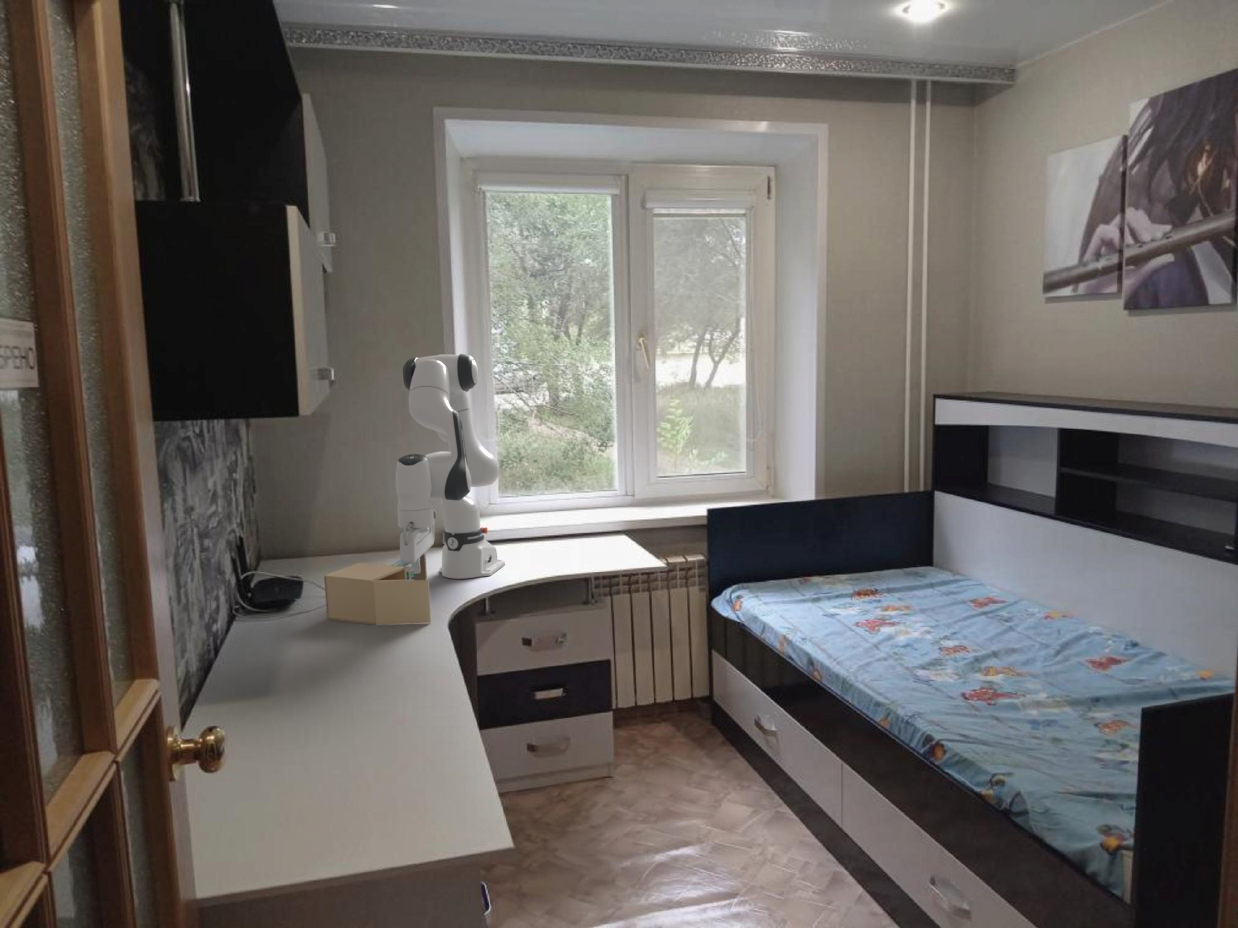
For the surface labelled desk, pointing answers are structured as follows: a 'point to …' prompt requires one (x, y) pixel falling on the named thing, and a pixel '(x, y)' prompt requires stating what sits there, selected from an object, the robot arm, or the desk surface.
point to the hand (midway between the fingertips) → (419, 570)
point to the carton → (357, 591)
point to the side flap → (403, 599)
